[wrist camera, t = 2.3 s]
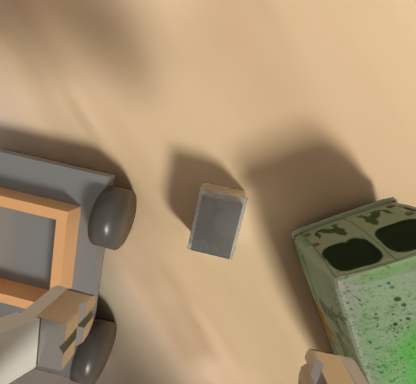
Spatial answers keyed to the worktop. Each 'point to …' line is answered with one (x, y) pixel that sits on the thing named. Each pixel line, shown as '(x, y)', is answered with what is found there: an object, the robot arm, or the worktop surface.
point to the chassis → (60, 242)
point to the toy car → (366, 286)
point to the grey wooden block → (217, 220)
